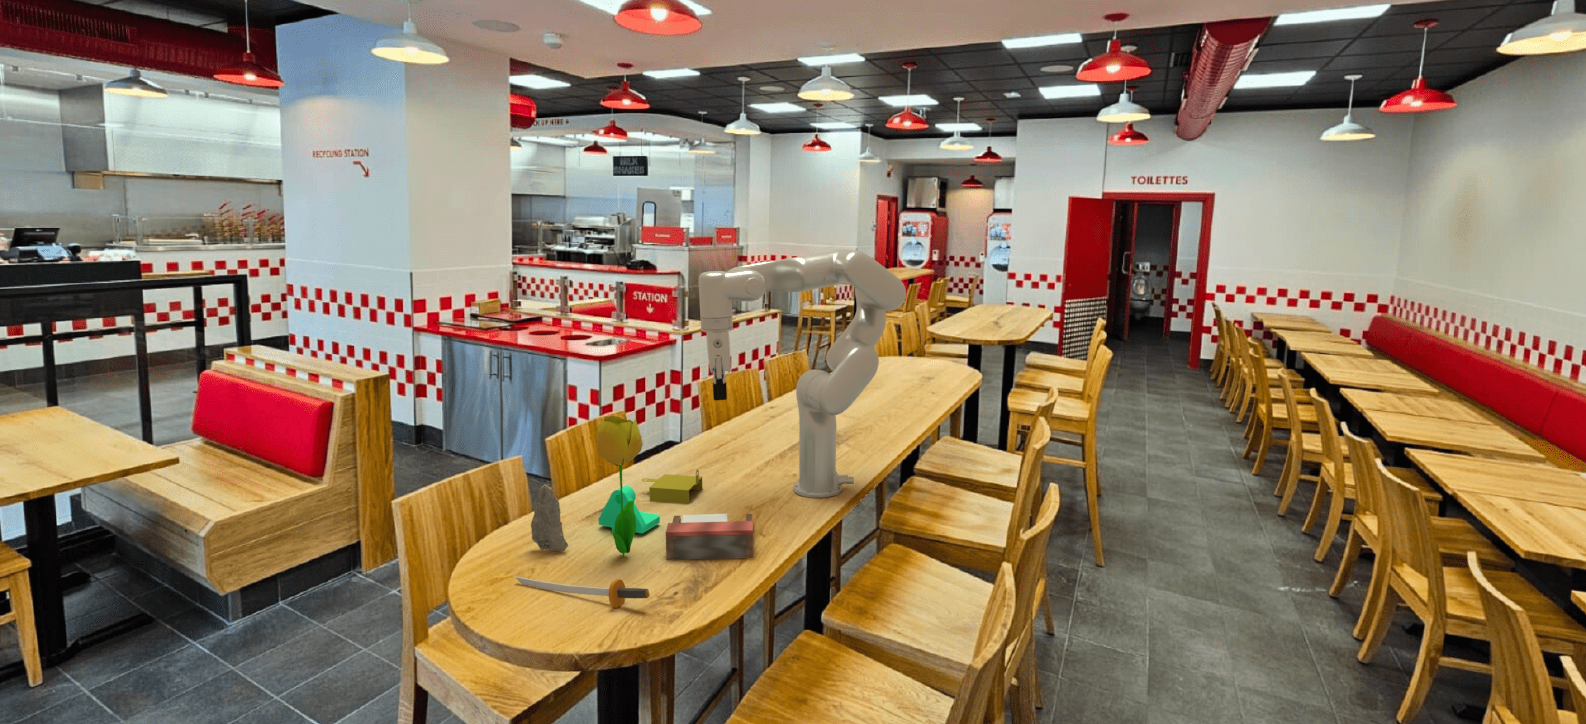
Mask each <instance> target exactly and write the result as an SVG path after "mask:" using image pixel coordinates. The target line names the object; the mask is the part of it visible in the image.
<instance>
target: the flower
mask: <svg viewBox="0 0 1586 724" xmlns="http://www.w3.org/2000/svg"><path fill="white" fill-rule="evenodd" d="M596 432H597V434H596V437H595V438H596V447H597V451H598V454H599V456H600V457H601V459H603V460H605V461H606V462H608V463H611V464H612V465H614V466H617V467H618V468H619V469H618V471H619V485H620V487H619V488H620V491H621V511H620V512H619V514H618V516H617V518H616V521H615V532H614V531H612V530H611V531H610V535H611V534H612V537H613V540H614V545H615V548H616V549H617V551H618V552H619V553H621V554H622V557H623V558H625V556H626V555H625V554H627V553H628V554H629V553H631V547H632V543H633V539H634V537H635V534H636V532H635V530H636V519H635V513H634V505H633V503H635V501H629V502H628V503H627V504H626V505H625V506H624V508H623V497H622V487H623V465H625V464H627V463H629V462H631V461H633V460H634V459H635V458H636V457H637V456H638V455H639V454H640V453H641V452H642V447H643V439H642V435H641V432H640V429H639V425H638V422H637V419H636V418H634V420H631V419H624V418H621V417H620V416H616V415H610V416H609V415H608V416H607V417H605V418H604V419H603V421H602V422H601V423H600V424H599V425H598V428H597V431H596Z"/></svg>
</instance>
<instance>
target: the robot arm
mask: <svg viewBox="0 0 1586 724" xmlns="http://www.w3.org/2000/svg"><path fill="white" fill-rule="evenodd" d="M839 285H849V286H852V287H854V295H855V301H856V312H855V315H854V317H853V319H852V320H851V322H850V323H849V324H848V326H847V327H846V328H845V330H843V332H841V334H840V335H839V337H837V339H836V340H835V341H834V342H833V344H832V345H831V346H830V347H829V349H828V350H827V353H826V357H825V360H826V364H827V366H828V367H829V369H830V370H831V371H832V372H831V373H829V372H827V371H825V370H823V369H822V370H821V369H809V370H807V371H805V372H804V373H802V374H801V376H799V378H798V380H797V384H796V390H795V392H796V395H795V397H796V401H797V408H798V424H799V426H798V427H799V428H798V429H799V431H798V432H799V433H798V434H799V435H798V440H799V441H798V445H799V446H798V448H799V449H798V450H799V451H798V452H799V453H798V454H799V455H798V457H799V458H798V459H799V460H798V468H799V469H798V471H799V472H798V478H799V479H798V480H797V481H795V483H794V484H793V486H792V490H793V491H794V492H795V494H796V495H799V496H802V497H806V498H813V499H815V498H816V499H821V498H822V499H823V498H829V497H830V498H831V497H834V496H837V495H838V494H840V493H841V492H842V489H843V488H842V487H843V486H842V485H854V484H855V477H854V476H849V475H848V474H839V473H838V471H837V467H836V466H837V416H838V415H840V414H843V413H844V412H846V410H848V409H849V408H850V407H851V406H852V405H853V403H854V402H855V401H856V400H857V399H858V397H859V396H860V395H861V393H862V392H864V390H865V389H866V387H867V386H868V385H870V383H871V381H872V380H873V379H874V377H875V375H876V374H877V372H878V368H879V363H880V360H879V355H878V352H877V351H876V349H875V348H874V347H875V346H876V344H877V343H878V342H879V340H880V339H881V337H882V336H883V334H884V332H885V330H886V325H887V311H888V312H889V311H894V310H897V309H899V308H900V307H901V306H902V305H903V304H904V303H905V301H906V297H907V289H906V286H905V284H904V282H903V281H902V280H901V279H900V278H899V277H898V276H897V275H895V274H894V273H893V272H891V271H890V270H889V269H887V268H886V267H884V266H883V265H882V264H880V263H879V262H878V261H877V260H875V259H874V258H873V257H872V256H870V255H868V253H865V252H864V251H861V250H856V249H855V250H853V249H836V250H830V251H823V252H819V253H814V254H807V255H802V256H796V257H789V258H784V259H777V260H771V261H763V262H758V263H752V264H747V265H745V264H744V265H740V266H735V267H732V268H730V269H729V270H728V271H724V270H723V271H722V270H711V271H704V272H701V273H700V274H699V276H698V294H699V295H698V296H699V297H698V298H699V313H700V315H699V316H700V331H701V332H703V333H706V348H707V359H708V366H709V371H710V373H711V374H713V382H712V392H713V393H712V394H713V401H726V400H728V395H727V394H728V393H727V392H728V391H727V382H726V372H727V373H729V374H730V373H731V372H732V367H731V366H732V365H731V343H730V334H729V333H730V332H731V331H733V330H734V328H733V327H734V324H733V323H734V322H733V302H754V301H757V300H759V299H760V298H762V297H763V296H764V294H765V293H769V292H771V293H772V292H785V293H786V292H789V293H797V292H798V293H801V292H806V291H807V292H808V291H811V290H812V291H813V290H816V289H822V288H826V287H832V286H839Z"/></svg>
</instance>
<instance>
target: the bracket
mask: <svg viewBox="0 0 1586 724" xmlns="http://www.w3.org/2000/svg"><path fill="white" fill-rule="evenodd" d="M641 482H649V483H653V484H651V485H650V486H649V502H655V503H671V504H682V505H690V490H697V491H703V476H700V473H699V469H696V471H695V475H684V474H683V475H681V474H667V473H665V474H663V475H662V476H661V477H660V478H643V479H641Z"/></svg>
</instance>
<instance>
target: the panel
mask: <svg viewBox="0 0 1586 724" xmlns="http://www.w3.org/2000/svg"><path fill="white" fill-rule="evenodd" d="M688 522H728V513H712V514H711V513H708V514H707V513H706V514H705V513H704V514H703V513H701V514H683V516H682V520H681V523H688Z"/></svg>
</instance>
